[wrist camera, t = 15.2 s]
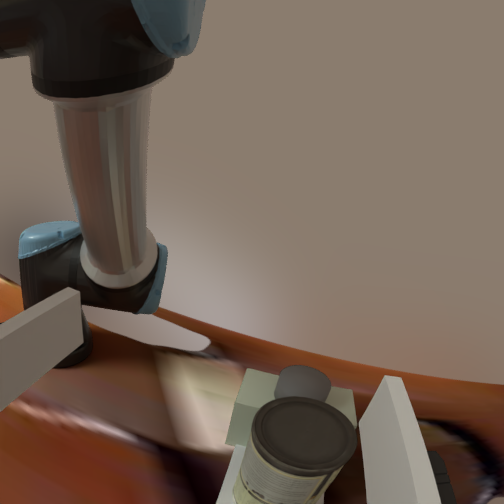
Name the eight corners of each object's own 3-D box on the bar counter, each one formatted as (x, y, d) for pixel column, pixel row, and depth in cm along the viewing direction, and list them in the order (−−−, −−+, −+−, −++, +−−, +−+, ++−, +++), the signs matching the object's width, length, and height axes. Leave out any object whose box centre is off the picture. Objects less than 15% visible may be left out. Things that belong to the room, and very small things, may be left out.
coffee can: (239, 459, 33) (260, 387, 30) (313, 472, 32) (352, 403, 29) (223, 519, 23) (243, 460, 20) (311, 532, 22) (363, 474, 19)
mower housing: (331, 537, 22) (378, 493, 19) (198, 514, 24) (207, 466, 21) (332, 429, 42) (359, 374, 39) (237, 409, 44) (251, 351, 41)
